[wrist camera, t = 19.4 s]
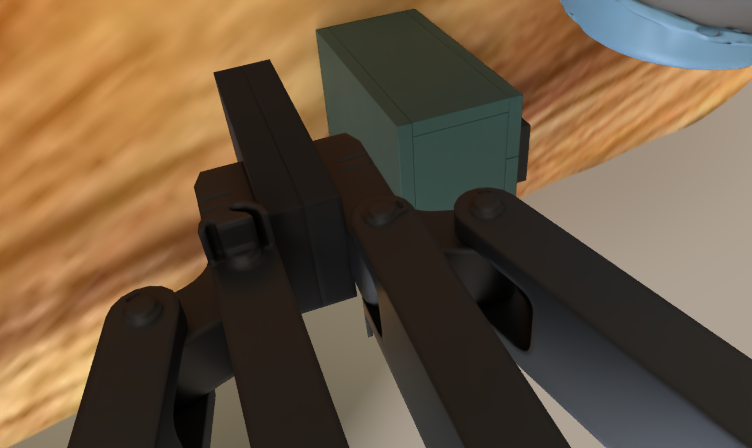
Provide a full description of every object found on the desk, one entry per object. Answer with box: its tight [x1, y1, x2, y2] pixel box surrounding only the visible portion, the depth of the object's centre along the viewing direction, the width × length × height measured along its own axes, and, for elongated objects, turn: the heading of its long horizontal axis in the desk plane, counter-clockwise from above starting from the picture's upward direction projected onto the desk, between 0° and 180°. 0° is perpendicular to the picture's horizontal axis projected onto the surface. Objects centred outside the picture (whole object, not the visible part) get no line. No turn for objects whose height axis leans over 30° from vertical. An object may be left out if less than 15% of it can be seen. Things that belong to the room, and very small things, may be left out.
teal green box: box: [316, 9, 523, 211], centre depth 42 cm, size 7×12×14 cm, turn 5°
